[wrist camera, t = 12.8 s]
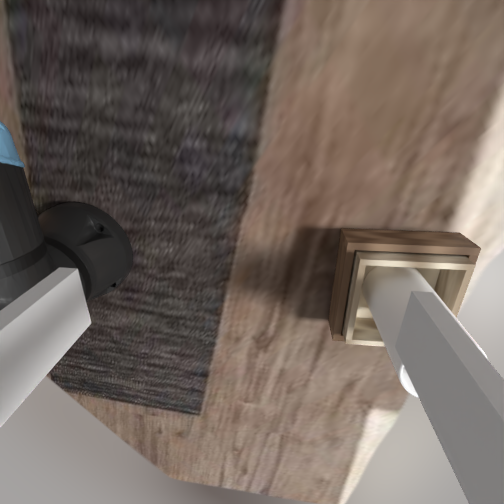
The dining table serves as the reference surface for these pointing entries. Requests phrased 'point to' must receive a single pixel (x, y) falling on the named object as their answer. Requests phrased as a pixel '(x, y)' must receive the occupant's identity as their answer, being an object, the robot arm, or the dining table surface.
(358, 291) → the birch crate
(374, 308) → the cup
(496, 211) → the dining table surface
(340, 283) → the box
